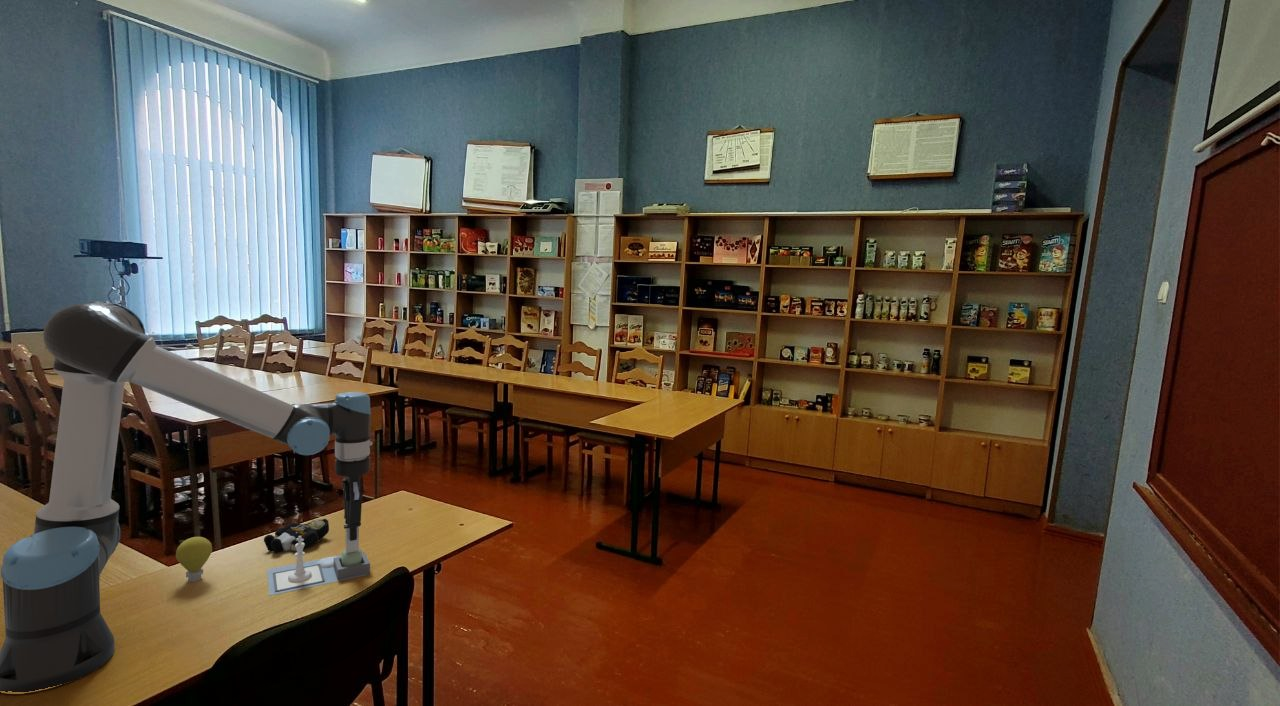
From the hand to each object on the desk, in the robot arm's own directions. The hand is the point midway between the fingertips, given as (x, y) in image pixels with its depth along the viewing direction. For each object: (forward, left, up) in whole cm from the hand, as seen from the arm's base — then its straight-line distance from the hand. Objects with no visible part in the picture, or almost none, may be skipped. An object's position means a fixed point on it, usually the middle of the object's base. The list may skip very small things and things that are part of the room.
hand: (352, 550), depth 138 cm
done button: (0, 0, -5) cm, 5 cm away
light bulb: (-31, +14, -6) cm, 35 cm away
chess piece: (-11, +2, -5) cm, 12 cm away
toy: (-10, +23, -6) cm, 26 cm away
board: (-7, +3, -6) cm, 10 cm away
